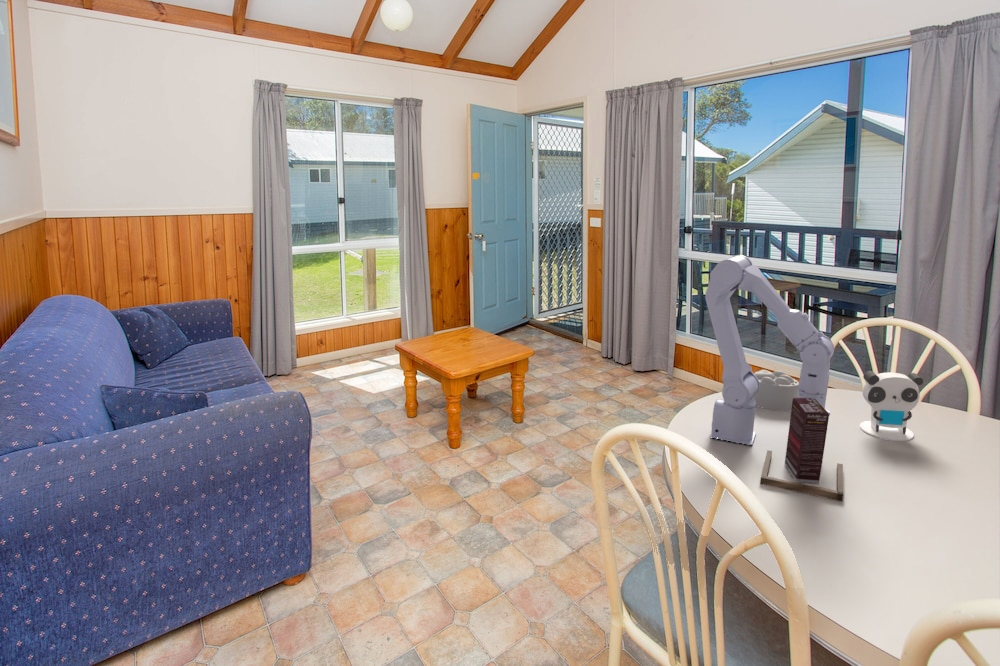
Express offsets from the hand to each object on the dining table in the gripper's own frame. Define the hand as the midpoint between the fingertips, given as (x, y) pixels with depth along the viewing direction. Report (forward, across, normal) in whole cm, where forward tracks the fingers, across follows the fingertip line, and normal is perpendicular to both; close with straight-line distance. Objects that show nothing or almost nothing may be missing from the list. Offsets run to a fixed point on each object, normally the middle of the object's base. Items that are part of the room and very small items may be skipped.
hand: (805, 445), depth 137 cm
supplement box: (+2, -11, 0) cm, 11 cm away
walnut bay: (+2, -12, 0) cm, 12 cm away
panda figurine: (+2, +22, -17) cm, 28 cm away
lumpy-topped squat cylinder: (+2, +30, +10) cm, 31 cm away
